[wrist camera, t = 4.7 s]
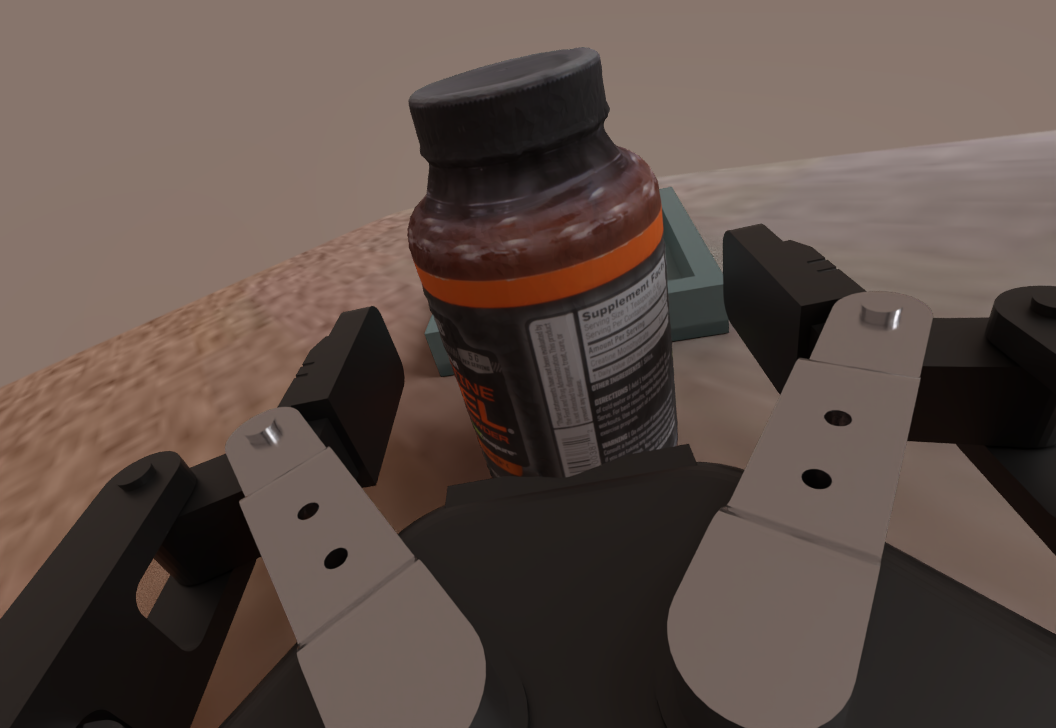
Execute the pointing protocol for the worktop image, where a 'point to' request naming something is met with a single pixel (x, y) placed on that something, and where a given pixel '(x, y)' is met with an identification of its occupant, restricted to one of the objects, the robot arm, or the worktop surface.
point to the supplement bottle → (544, 266)
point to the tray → (687, 275)
